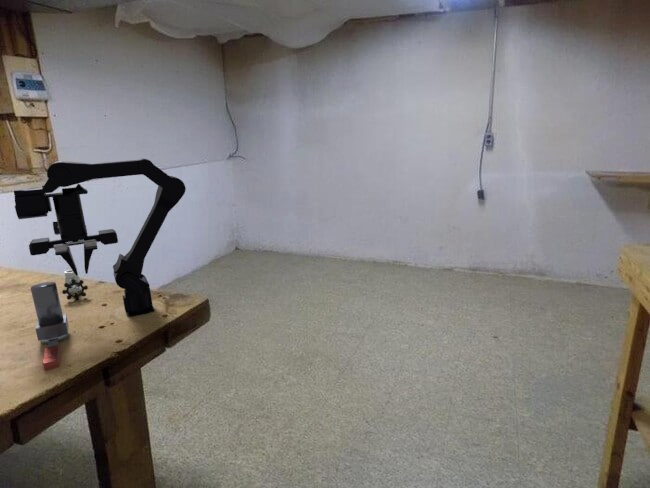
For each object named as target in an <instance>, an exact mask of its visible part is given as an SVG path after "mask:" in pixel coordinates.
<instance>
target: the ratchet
mask: <svg viewBox="0 0 650 488" xmlns="http://www.w3.org/2000/svg"><path fill="white" fill-rule="evenodd" d="M68 337H69V333H68V334H66V335H62V336H57V337H53V338H49V339H44V340H40V343H41V344H42V345H47V347H45V348H44V353H43V361H42V365H43V371H48V370H52V369H57V368H59V367H60V360H61V359H60V358H61V357H60V356H61V355H60V354H61V350H60V345H59V344H60V342H63V341H64V340H66V339H68Z"/></svg>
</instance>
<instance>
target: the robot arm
mask: <svg viewBox="0 0 650 488" xmlns="http://www.w3.org/2000/svg"><path fill="white" fill-rule="evenodd" d="M139 175H140V176H141V175H143V176H145V177H146V178H147V179H148V180H149V181H151V182H153V183H154V184H155V185H157V189H156V193H155V198H154V203H153V205H152V207H151V209H150V211H149V213H148V215H147V217H146V219H145V221H144V222H143V225H142V227H141V229H140V230H139V233H138V234H137V236H136V238H135V240H134V242H133V244H132V246H131V248H130V249H129V251H128V252H127V253H126V254H125V255H123V254H122V253H119V255H118V257H117V260H116V262H115V264H113V265H112V270H113V277H114V282H115V283H116V285H117V286H118V287H119V288H120V289H122V290H123V293H124V295H122V301H123V307H124V312H125V313H126V314H127V316H128V317H133V316H138V315H139V316H140V315H143V314H148V313H151V312H154V311H155V308H154V305H153V300H152V292H151V288H150V283H149V281H148V280H147V277H146V275H144V274H143V269H144V262H145V258H146V257H147V255H148V253H149V251H150V248H151V247H152V245H153V243H154V241H155V239H156V238H157V235H158V234H159V232H160V230H161V228H162V225H164V224H163V223H164V222H165V220H166V218H167V216H168V214H169V213H170V211H171V210H173V208H174V207H175V206H177V204H178V203H179V201H180V200H181V199H182V198H183V196H184V195H185V194H186V193H185V192H186V189H187V187H186V185H185V183H184V181H183V180H182V179H180V178H178V177H177V176H173V175H168V174H167V173H166V172H164V171H163V170H162V169H160V168H159V167H158V166H156V165H155V164H154V163H153V162H152V160H150V159H147V158H140V159H136V160H135V159H133V160H120V161H118V160H117V161H107V162H106V161H105V162H92V163H86V162H77V161H65V160H58V161H55V162H53V163H52V164H51V165H49V167H48V168H47V170H46V178H47V180H46V182H45V183H43V184H42V185H41V186H42V187H41V188H33V189H32V188H31V189H29V188H28V189H14V191H13V194H14V203H15V205H14V209H15V213H16V216H17V219H18V220H24V219H35V218H44V217H48V214H49V212H51V213H52V211H53V207H52V203H51V198H52V202H53V206H54V211H55V217H56V221H52V227H53V233H54V235H56V236H60V239H55V240H51V239H50V237H49V236H48V237H44V238H43V237H42V238H33V239H31V241H30V242H29V244H28V250H29V253H30V256H39V255H45V254H47V253H48V252H49V251H50V249H51V250H52V249H53V250H54V251H55V253H54V255H55V256H60V257H61V258H62V259H63V260H64V261H65V262H66V263H67V264H68V266H69V267H70V270H73V272H74V273H75V275H76V276H77V275H78V276H79V274H78V268H77V265H76V262H75V260H74V258H73V257H74V256H73V255H72V251H71V247H72V246H78V245H83V256H84V258H83V260H84V272H85V274H89V273H88V272H89V267H90V262H91V258H92V255H93V252H94V251H95V250H98V243H99V242H100V243H101V244H102V245H105V246H107V245H112V244H113V245H114V244H119V239H118V233H117V231H116V230H115V229H113V228H110V229H102V230H98V234H92V235H91V234H90V235H88V229H87V225H86V222H85V221H86V220H85V215H84V211H83V206H82V200H81V196H80V195H87V194H88V192H89V191H88V189H86V188H84V187H83V186H82V185H81V183H84V182H89V181H90V180H95V179H96V180H97V179H109V178H118V177H119V178H120V177H130V176H139ZM74 185H76V186H75V187H70V186H74ZM59 188H61V192H55V191H57V189H59ZM53 192H55V193H53Z"/></svg>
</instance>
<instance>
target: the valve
mask: <svg viewBox="0 0 650 488" xmlns="http://www.w3.org/2000/svg"><path fill="white" fill-rule="evenodd" d="M64 277H65V278H64V284H63V286H64V288H65V289H62V291H61V293H62V294H63V295H66V294H67V296H66V299H67V300H71V299H72V298H74V300H75V301H79V300H80V296H82V297H86V296H87V293H86V292H84V291H87V290H88V289H89V287H88V285H84V283H85V282H84V280H83V279H80V276H79V274H78V275H77V276H76V275H75V273H74V272H73V270H72V269H68V270H64ZM79 291H80V292H79ZM71 293H74V294H71Z"/></svg>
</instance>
